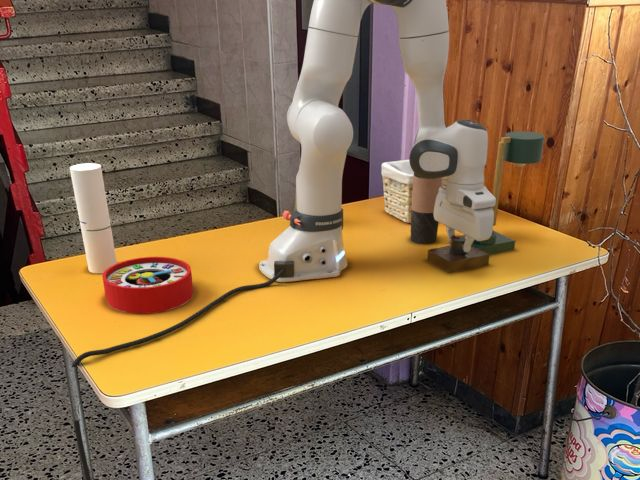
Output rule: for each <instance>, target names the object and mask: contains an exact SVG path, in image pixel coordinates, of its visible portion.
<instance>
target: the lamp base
mask: <svg viewBox="0 0 640 480" xmlns="http://www.w3.org/2000/svg"><path fill="white" fill-rule="evenodd" d="M461 236H465V234H463V235H461ZM471 245H472V246H474V247H476V248H478V249H480V250H482V251H484V252H486V253H488V254H490V256H491V255H492V256H493V255H496V254H501V253H507V252H512V251H515V247H516V240H515V239H513V238H511V237H508V236H506V235H505V234H502V233H500V232H498V231H496V230H492V235H491V237H490V238H489V239H487V240H483V241H477V240H474V241H473V243H472V244H471Z"/></svg>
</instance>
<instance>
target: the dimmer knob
mask: <svg viewBox="0 0 640 480" xmlns="http://www.w3.org/2000/svg"><path fill="white" fill-rule="evenodd" d="M465 241H466V239H465V236H462V235H460V234H459V235H456V234H455V235H452V237H451V244H449V246H450V252H451V253H452V254H457V255H463V254H466V253H467V252H464V251H462V250H461V248H462V244H464V243H465Z"/></svg>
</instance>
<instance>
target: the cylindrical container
mask: <svg viewBox="0 0 640 480" xmlns="http://www.w3.org/2000/svg"><path fill="white" fill-rule="evenodd" d="M102 169H103V168H102V165H101V164H99V163H95V162H87V163H78V164H74V165H71V166H70V167H69V173H70V178H71V183H72V188H73V193H74V199H75V204H76V210H77V215H78V220H79V226H80V231H81V236H82V241H83V247H84V253H85V257H86V264H87V268H88V269H87V270H88V272H90V273H93V274H103V272H104V271H105V270H106V269H107V268H109V267H110V266H112V265H114V264H117V263H118V261H117V256H116V250H115V249H116V248H115V244H114V243H115V242H114V237H113V230H112V226H111V217H110V212H109V207H108V200H107V194H106V188H105V183H104V176H103V170H102Z"/></svg>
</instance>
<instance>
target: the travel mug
mask: <svg viewBox="0 0 640 480" xmlns="http://www.w3.org/2000/svg"><path fill="white" fill-rule="evenodd" d="M441 186H442V177H441V178H433V179H424V178H421V177H419V176H417V175H416V174H415V173H414V179H413V193H412V208H411V223H410V241H411V243H415V244H418V245H432V244H434V243H436V242H437V240H438V230H439V222H438V221H436V220H435V219H434V215H433V213H434V206H435V201H436V197H437V194H438V192H439V188H440V187H441Z"/></svg>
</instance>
